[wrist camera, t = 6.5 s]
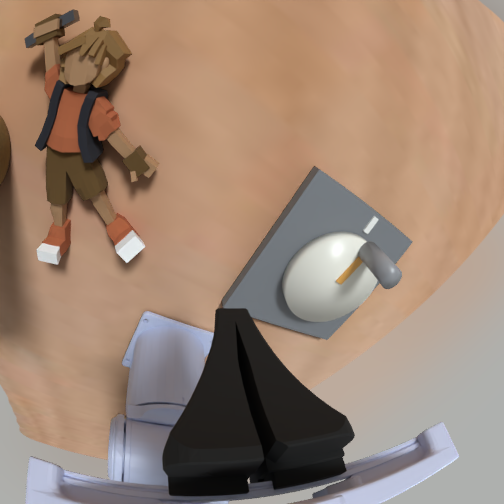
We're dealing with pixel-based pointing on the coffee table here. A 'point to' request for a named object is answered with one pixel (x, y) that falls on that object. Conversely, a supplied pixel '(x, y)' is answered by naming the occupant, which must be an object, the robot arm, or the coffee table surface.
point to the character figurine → (83, 129)
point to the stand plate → (298, 235)
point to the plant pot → (4, 149)
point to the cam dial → (335, 276)
